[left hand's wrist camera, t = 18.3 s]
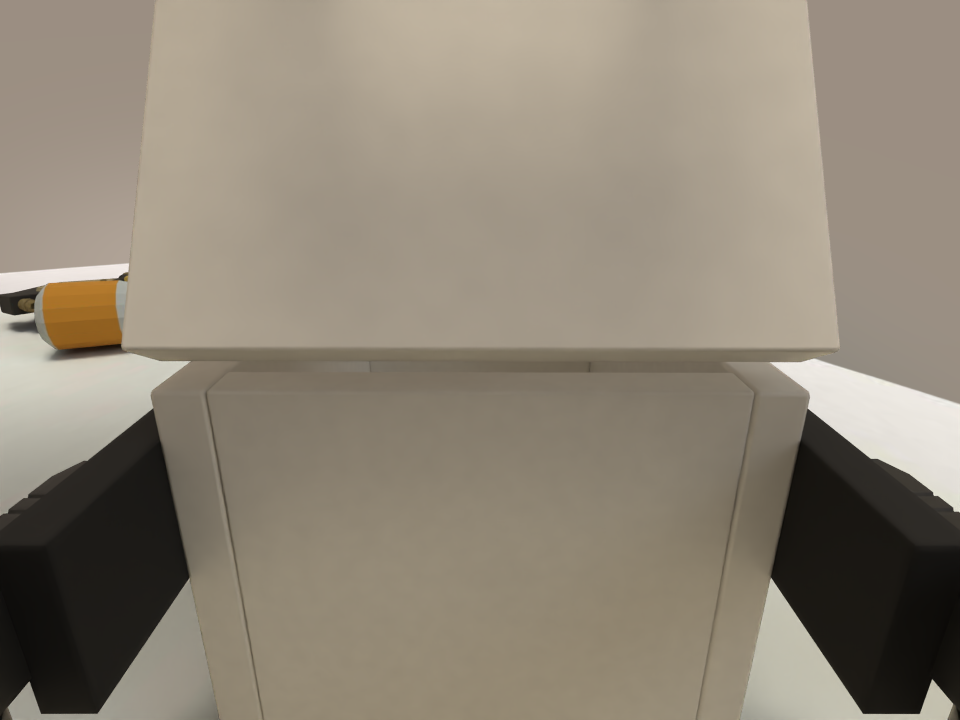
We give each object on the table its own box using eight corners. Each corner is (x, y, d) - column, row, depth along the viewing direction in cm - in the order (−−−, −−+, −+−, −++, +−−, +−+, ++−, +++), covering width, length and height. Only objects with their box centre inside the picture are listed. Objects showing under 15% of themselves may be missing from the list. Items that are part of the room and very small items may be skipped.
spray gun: (3, 324, 45) (207, 300, 54) (20, 370, 33) (278, 329, 42) (-10, 269, 44) (200, 254, 53) (2, 296, 32) (272, 270, 41)
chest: (359, 456, 25) (342, 246, 22) (600, 456, 25) (617, 247, 22) (231, 785, 12) (147, 391, 9) (727, 786, 12) (813, 392, 9)
